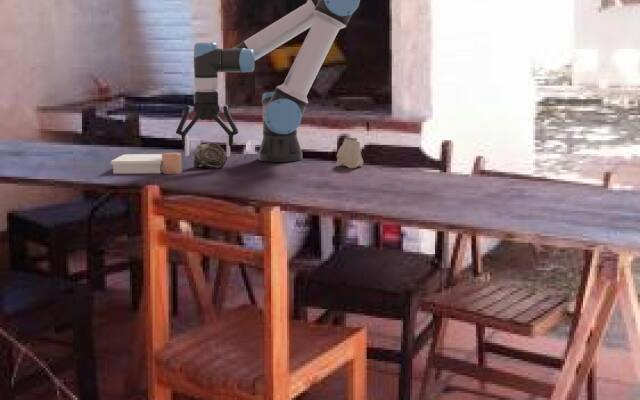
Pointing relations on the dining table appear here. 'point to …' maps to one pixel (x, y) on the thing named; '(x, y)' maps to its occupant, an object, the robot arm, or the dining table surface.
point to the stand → (138, 163)
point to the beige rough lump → (350, 153)
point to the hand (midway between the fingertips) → (207, 155)
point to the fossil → (210, 156)
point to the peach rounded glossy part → (171, 163)
